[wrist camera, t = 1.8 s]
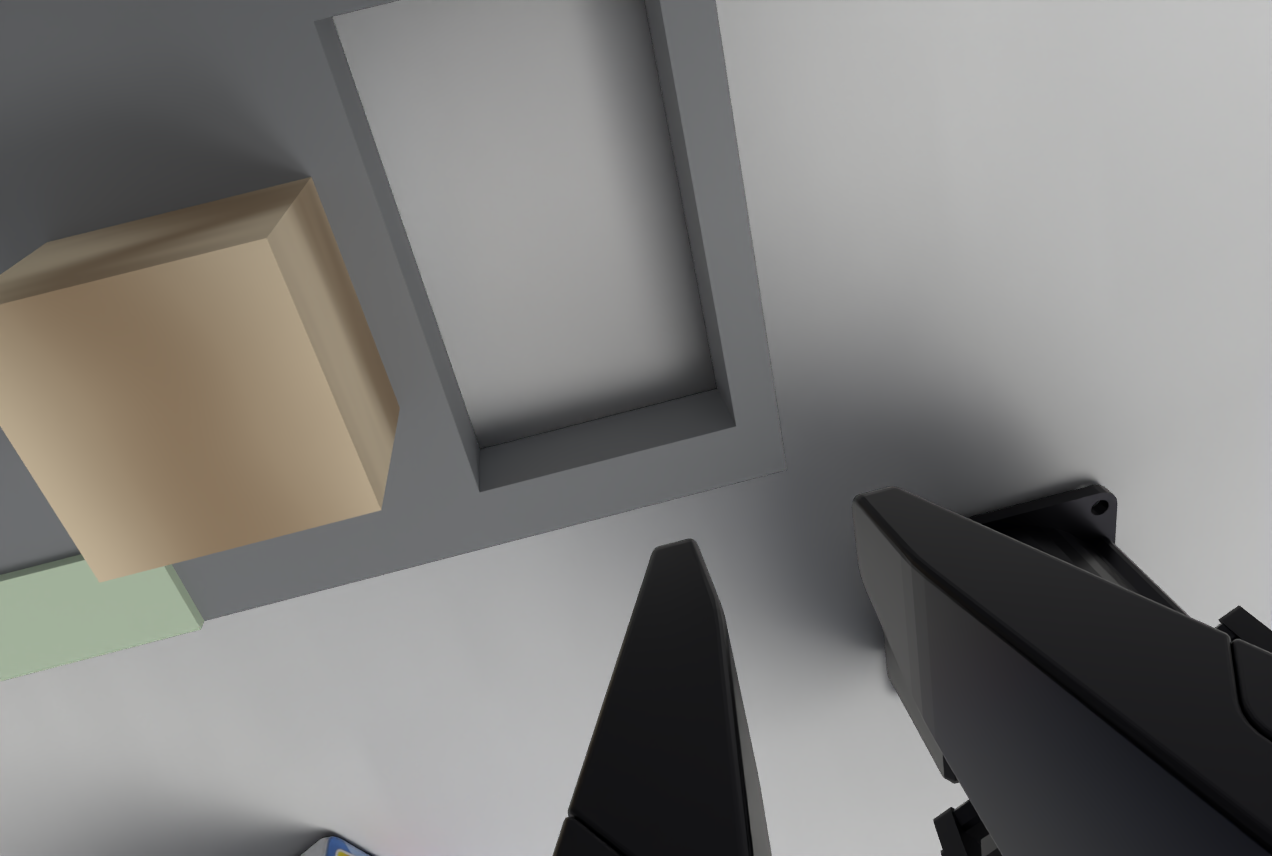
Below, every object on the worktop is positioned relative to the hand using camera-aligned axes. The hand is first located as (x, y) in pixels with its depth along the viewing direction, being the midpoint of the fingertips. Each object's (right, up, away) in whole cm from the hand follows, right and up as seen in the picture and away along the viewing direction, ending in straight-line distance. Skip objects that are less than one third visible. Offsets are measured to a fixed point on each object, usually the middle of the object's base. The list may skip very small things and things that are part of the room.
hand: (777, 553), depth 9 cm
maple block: (-9, +3, +9) cm, 14 cm away
